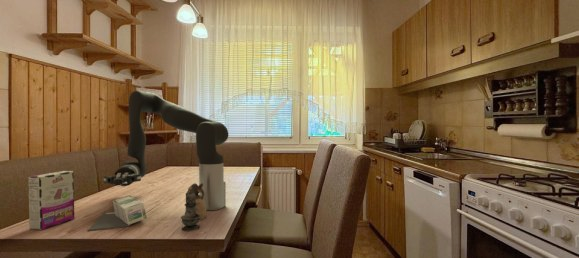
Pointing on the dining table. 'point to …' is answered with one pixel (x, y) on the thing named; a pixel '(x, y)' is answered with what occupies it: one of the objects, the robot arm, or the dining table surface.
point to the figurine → (199, 200)
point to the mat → (108, 222)
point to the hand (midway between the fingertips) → (117, 182)
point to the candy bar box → (51, 199)
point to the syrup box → (129, 209)
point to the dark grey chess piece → (190, 213)
